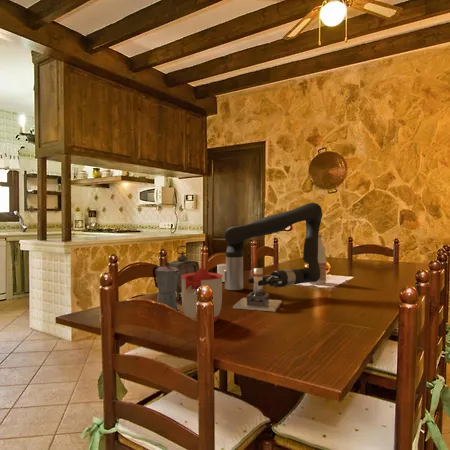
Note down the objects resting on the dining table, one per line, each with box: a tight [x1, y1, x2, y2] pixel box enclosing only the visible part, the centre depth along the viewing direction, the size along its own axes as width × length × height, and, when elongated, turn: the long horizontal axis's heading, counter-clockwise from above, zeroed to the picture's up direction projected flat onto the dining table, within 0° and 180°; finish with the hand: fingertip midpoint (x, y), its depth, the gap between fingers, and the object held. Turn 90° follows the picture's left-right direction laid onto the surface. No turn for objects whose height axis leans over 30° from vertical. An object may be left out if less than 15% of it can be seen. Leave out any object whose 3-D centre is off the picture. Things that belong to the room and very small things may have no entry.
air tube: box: [253, 267, 264, 302], centre depth 158 cm, size 4×4×15 cm
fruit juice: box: [309, 233, 327, 285], centre depth 208 cm, size 9×9×28 cm
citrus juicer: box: [181, 267, 223, 323], centre depth 135 cm, size 16×17×20 cm
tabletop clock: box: [168, 245, 200, 301], centre depth 173 cm, size 14×9×25 cm, turn 137°
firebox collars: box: [232, 291, 282, 313], centre depth 158 cm, size 18×16×5 cm
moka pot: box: [151, 262, 179, 311], centre depth 151 cm, size 10×15×20 cm, turn 58°
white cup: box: [216, 263, 226, 282], centre depth 214 cm, size 8×8×10 cm
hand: (253, 281), depth 156 cm, fingers open, 6 cm apart
